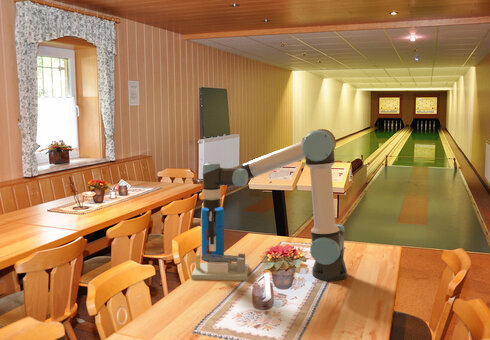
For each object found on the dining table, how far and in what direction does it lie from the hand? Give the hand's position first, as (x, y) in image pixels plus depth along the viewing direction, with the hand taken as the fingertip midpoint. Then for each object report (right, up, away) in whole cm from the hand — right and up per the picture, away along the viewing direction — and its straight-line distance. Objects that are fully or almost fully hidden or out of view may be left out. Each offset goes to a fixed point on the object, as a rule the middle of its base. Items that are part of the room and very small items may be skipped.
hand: (212, 250), depth 215 cm
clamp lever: (+4, -4, 0) cm, 6 cm away
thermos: (-1, -8, +21) cm, 23 cm away
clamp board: (+4, -10, +1) cm, 11 cm away
